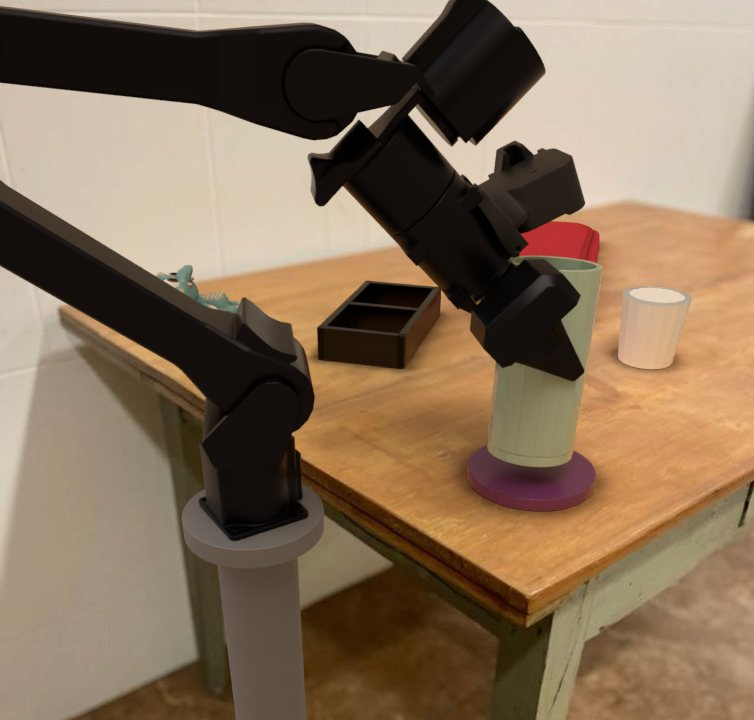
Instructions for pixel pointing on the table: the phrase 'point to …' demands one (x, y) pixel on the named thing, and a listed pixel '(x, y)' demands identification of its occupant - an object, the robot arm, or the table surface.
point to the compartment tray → (379, 324)
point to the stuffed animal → (188, 287)
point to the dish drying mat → (562, 241)
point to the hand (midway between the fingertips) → (561, 358)
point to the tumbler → (545, 385)
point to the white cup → (651, 325)
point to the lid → (531, 482)
